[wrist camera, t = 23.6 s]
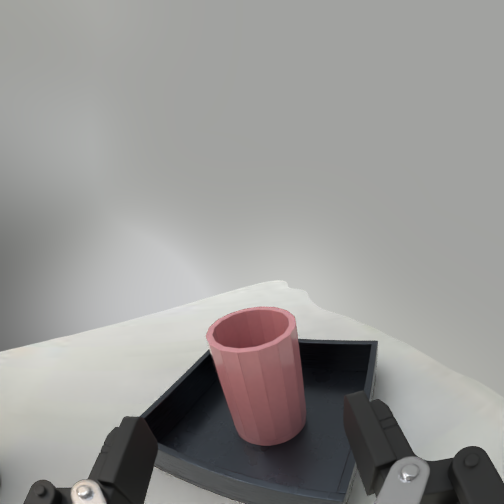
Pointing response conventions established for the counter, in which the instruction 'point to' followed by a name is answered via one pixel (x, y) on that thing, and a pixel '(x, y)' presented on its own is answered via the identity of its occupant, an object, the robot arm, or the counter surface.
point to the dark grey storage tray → (266, 457)
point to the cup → (260, 373)
